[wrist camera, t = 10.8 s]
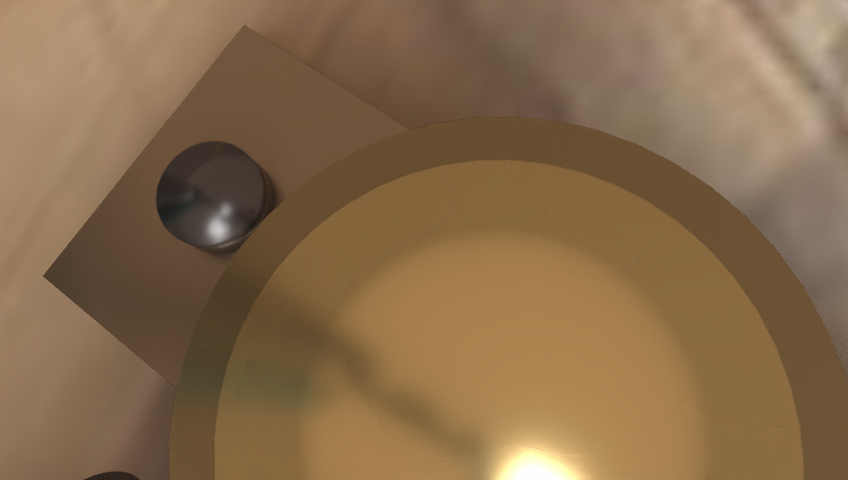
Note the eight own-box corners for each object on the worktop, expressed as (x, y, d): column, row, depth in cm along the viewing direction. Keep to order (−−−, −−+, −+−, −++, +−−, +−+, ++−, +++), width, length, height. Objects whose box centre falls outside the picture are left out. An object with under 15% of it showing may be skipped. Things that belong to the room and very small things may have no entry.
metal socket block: (119, 295, 21) (16, 269, 17) (285, 82, 22) (230, 4, 18) (697, 767, 16) (768, 908, 12) (875, 465, 17) (1002, 489, 13)
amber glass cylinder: (371, 430, 16) (32, 507, 5) (479, 276, 17) (415, 7, 5) (531, 555, 15) (604, 1066, 4) (642, 386, 16) (1013, 350, 4)
